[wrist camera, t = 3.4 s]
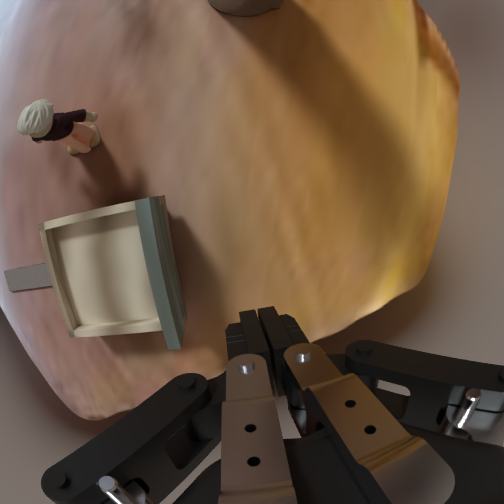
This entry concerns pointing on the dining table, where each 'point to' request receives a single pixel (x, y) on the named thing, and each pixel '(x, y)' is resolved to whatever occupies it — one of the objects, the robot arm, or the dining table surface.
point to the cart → (116, 271)
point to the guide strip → (28, 277)
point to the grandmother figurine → (59, 126)
